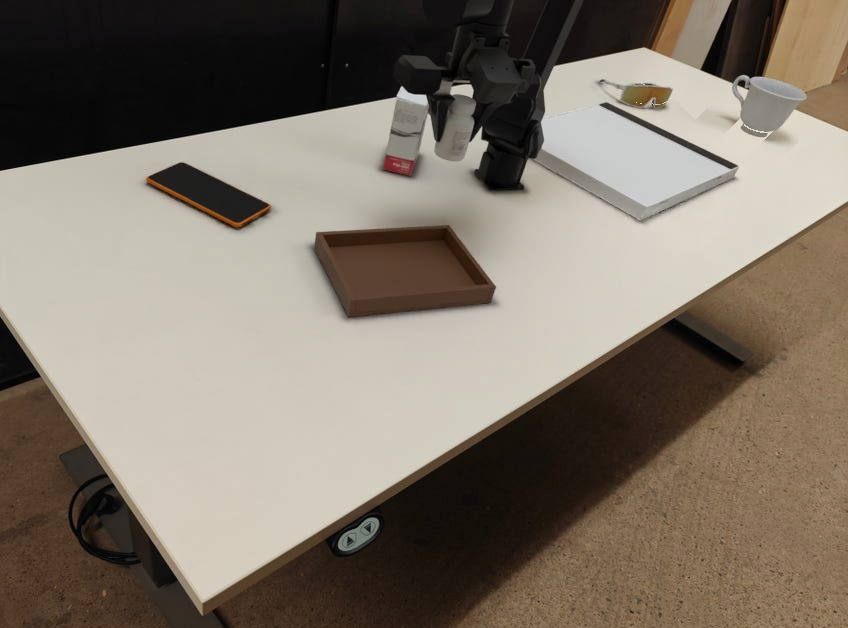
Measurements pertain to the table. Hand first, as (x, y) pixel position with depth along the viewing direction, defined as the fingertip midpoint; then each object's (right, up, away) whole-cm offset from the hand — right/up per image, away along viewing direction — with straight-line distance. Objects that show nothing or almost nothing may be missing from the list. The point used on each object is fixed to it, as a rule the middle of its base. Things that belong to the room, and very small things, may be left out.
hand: (452, 141), depth 91 cm
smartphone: (-34, -7, +2) cm, 35 cm away
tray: (-7, -19, -4) cm, 20 cm away
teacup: (+74, +22, +60) cm, 98 cm away
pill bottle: (0, -2, +1) cm, 2 cm away
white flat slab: (+36, +8, +36) cm, 51 cm away
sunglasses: (+50, +31, +65) cm, 87 cm away
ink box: (-6, +3, +20) cm, 21 cm away
